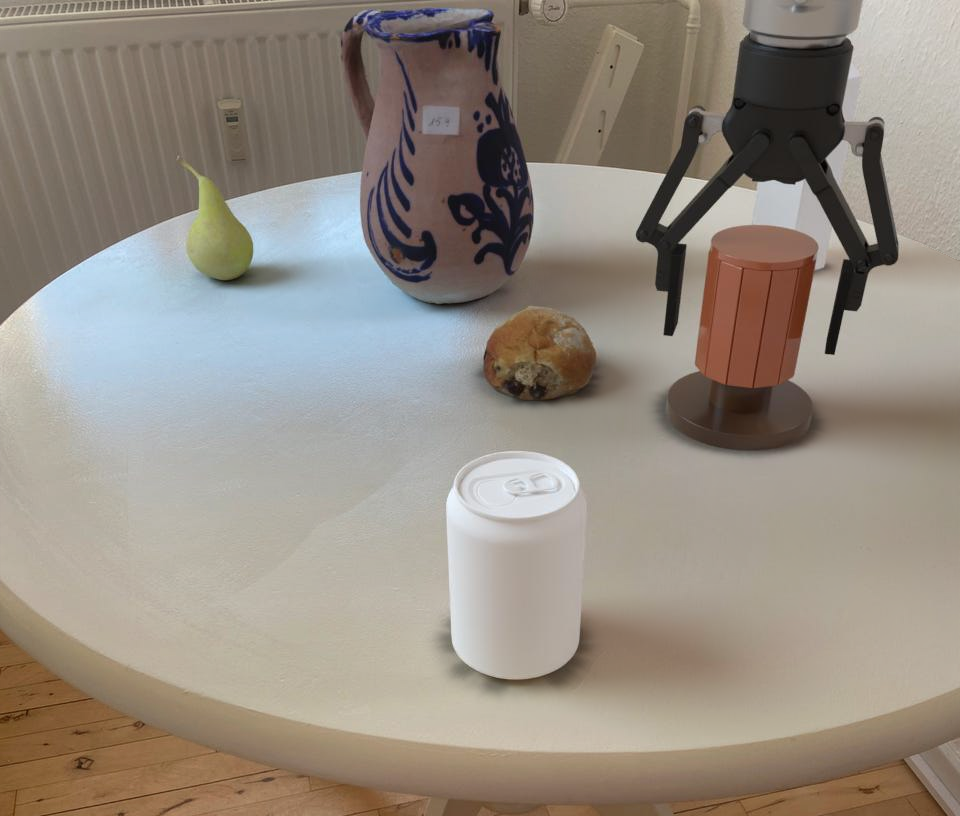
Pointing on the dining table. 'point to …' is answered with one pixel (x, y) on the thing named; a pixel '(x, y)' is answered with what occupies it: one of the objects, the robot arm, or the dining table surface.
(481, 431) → the dining table surface
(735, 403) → the towel holder
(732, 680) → the dining table surface
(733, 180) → the robot arm
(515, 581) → the beverage can
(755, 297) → the ribbed orange cylinder
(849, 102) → the milk
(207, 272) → the fruit
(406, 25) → the ceramic pitcher
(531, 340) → the bread roll
